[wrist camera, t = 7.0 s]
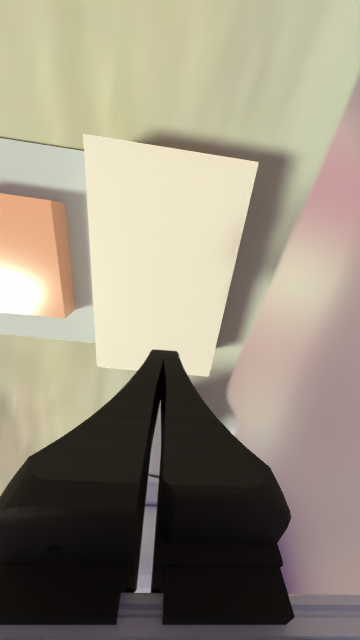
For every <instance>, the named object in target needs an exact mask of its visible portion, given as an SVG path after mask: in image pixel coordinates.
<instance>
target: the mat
mask: <svg viewBox="0 0 360 640" xmlns="http://www.w3.org/2000/svg"><path fill="white" fill-rule="evenodd" d="M0 193H2V194H9V195H16V196H24V197H31V198H38V199H45V200H52V201H57V202H63V203H65V211H66V221H67V231H68V240H69V250H70V260H71V270H72V280H73V290H74V300H75V309H76V310H75V311H73V312H72V313H71V314H70V315H69V316H68V317H66V318H56V317H46V316H36V315H26V314H17V313H7V312H0V334H6V335H17V336H27V337H38V338H48V339H59V340H69V341H79V342H90V343H96V341H95V324H94V307H93V291H92V274H91V257H90V241H89V224H88V207H87V191H86V174H85V157H84V151H80V150H74V149H68V148H61V147H55V146H48V145H42V144H36V143H29V142H23V141H16V140H10V139H3V138H0Z"/></svg>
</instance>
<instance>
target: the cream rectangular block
mask: <svg viewBox="0 0 360 640" xmlns="http://www.w3.org/2000/svg"><path fill="white" fill-rule="evenodd" d="M83 141H84V157H85V174H86V191H87V207H88V224H89V241H90V257H91V274H92V291H93V307H94V324H95V341H96V357H97V367H104V368H116V369H127V370H139V368H140V367H141V366H142V364H143V363H144V362H145V360H146V359H147V357H148V355H149V353H150V351H151V350H153V349H155V350H168V351H177V352H178V354H179V357H180V360H181V363H182V365H183V367H184V369H185V371H186V373H187V375H195V376H206V377H209V373H210V369H211V365H212V361H213V356H214V352H215V348H216V344H217V339H218V335H219V331H220V326H221V322H222V318H223V314H224V309H225V305H226V301H227V296H228V292H229V288H230V284H231V279H232V275H233V271H234V267H235V262H236V258H237V254H238V249H239V245H240V241H241V237H242V232H243V228H244V224H245V219H246V215H247V211H248V207H249V202H250V198H251V194H252V190H253V185H254V181H255V177H256V172H257V168H258V164H259V162H255V161H249V160H243V159H237V158H230V157H224V156H218V155H212V154H206V153H199V152H193V151H187V150H181V149H175V148H168V147H162V146H156V145H150V144H144V143H137V142H131V141H125V140H119V139H113V138H106V137H100V136H94V135H88V134H83Z"/></svg>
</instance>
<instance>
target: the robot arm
mask: <svg viewBox="0 0 360 640" xmlns="http://www.w3.org/2000/svg"><path fill="white" fill-rule="evenodd" d="M290 519H291V515H290V510H289V507H288V505H287V502H286V500H285V497H284V495H283V493H282V491H281V488H280V486H279V484H278V482H277V480H276V478H275V476H274V474H273V473H272V471H271V469H270V467H269V466H268V465H266V464H265V463H264V462H263V461H262V460H260V459H259V458H258V457H257V456H256V455H255V454H253V453H252V452H251V451H250V450H249V449H247V448H246V447H245V446H244V445H243V444H242V443H241V442H240V441H238V439H237V438H236V437H234V436H233V435H232V434H231V432H230V431H229V430H228V429H227V428H226V427H225V426H224V425H223V424H222V423H221V422H220V421H219V420H218V418H217V417H216V416H215V415H214V414H213V412H212V411H211V410H210V409H209V408H208V406H207V405H206V404H205V402H204V401H203V400H202V398H201V397H200V395H199V394H198V392H197V391H196V389H195V387H194V386H193V384H192V382H191V381H190V379H189V377H188V375H187V373H186V371H185V369H184V367H183V365H182V363H181V360H180V357H179V354H178V352H177V351H168V350H155V349H153V350H151V351H150V353H149V355H148V357H147V359H146V360H145V362H144V363H143V364H142V366H141V367H140V368H139V370H138V371H137V372H136V374H135V375H134V376H133V377H132V378H131V379H130V381H129V382H128V383H127V384H126V385H125V386H124V387H123V388H122V389H121V390H120V391H119V392H118V393H117V394H116V395H115V396H114V397H113V398H112V399H111V400H110V401H109V402H108V403H107V404H105V405H104V406H103V407H102V408H101V409H100V410H98V411H97V412H96V413H95V414H93V415H92V416H91V417H90V418H88V419H87V420H85V421H84V422H83V423H81V424H80V425H79V426H77V427H76V428H74V429H73V430H72V431H70V432H69V433H67V434H66V435H64V436H63V437H61V438H60V439H58V440H56V441H55V442H53V443H52V444H50V445H48V446H47V447H45V448H43V449H42V450H40V451H39V452H37V453H35V454H33V455H32V456H30V457H28V459H27V460H26V461H25V463H24V464H23V465H22V467H21V468H20V469H19V470H18V472H17V473H16V474H15V476H14V477H13V478H12V480H11V481H10V482H9V484H8V485H7V487H6V489H5V490H4V492H3V493H2V495H1V496H0V640H360V595H319V594H318V595H317V594H314V595H312V594H288V593H287V589H286V586H285V583H284V579H283V576H282V573H281V569H280V567H281V566H283V562H282V557H281V554H280V551H279V548H278V545H277V542H278V541H279V539H280V538H281V536H282V535H283V533H284V532H285V530H286V529H287V527H288V525H289V522H290Z"/></svg>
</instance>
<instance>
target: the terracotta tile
mask: <svg viewBox="0 0 360 640" xmlns="http://www.w3.org/2000/svg"><path fill="white" fill-rule="evenodd" d="M75 310H76V309H75V300H74V290H73V280H72V270H71V260H70V250H69V240H68V231H67V221H66V211H65V203H63V202H57V201H52V200H45V199H38V198H31V197H24V196H16V195H9V194H2V193H0V312H7V313H17V314H26V315H36V316H46V317H56V318H66V317H68V316H69V315H70V314H71V313H72V312H73V311H75Z"/></svg>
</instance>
